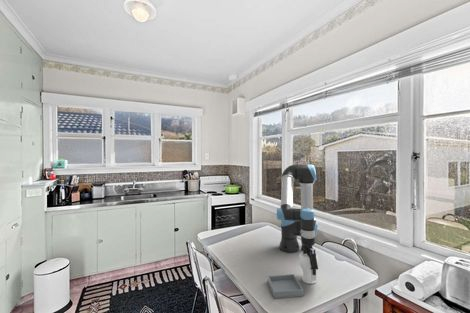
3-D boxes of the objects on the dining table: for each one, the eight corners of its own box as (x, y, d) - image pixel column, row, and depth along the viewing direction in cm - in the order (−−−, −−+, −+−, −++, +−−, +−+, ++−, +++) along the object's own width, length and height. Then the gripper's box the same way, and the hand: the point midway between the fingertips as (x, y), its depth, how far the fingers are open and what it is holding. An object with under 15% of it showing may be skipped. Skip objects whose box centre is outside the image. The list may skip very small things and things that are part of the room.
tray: (267, 281, 130) (267, 275, 130) (293, 279, 131) (293, 274, 131) (274, 298, 114) (274, 291, 114) (304, 295, 115) (303, 289, 115)
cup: (314, 275, 135) (313, 249, 135) (322, 285, 124) (321, 257, 125) (297, 275, 135) (296, 250, 135) (303, 285, 124) (302, 258, 124)
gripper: (294, 230, 142) (295, 264, 141) (310, 245, 117) (311, 286, 117) (306, 229, 142) (306, 263, 142) (324, 244, 118) (325, 285, 118)
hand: (308, 274), depth 130 cm, fingers open, 12 cm apart
